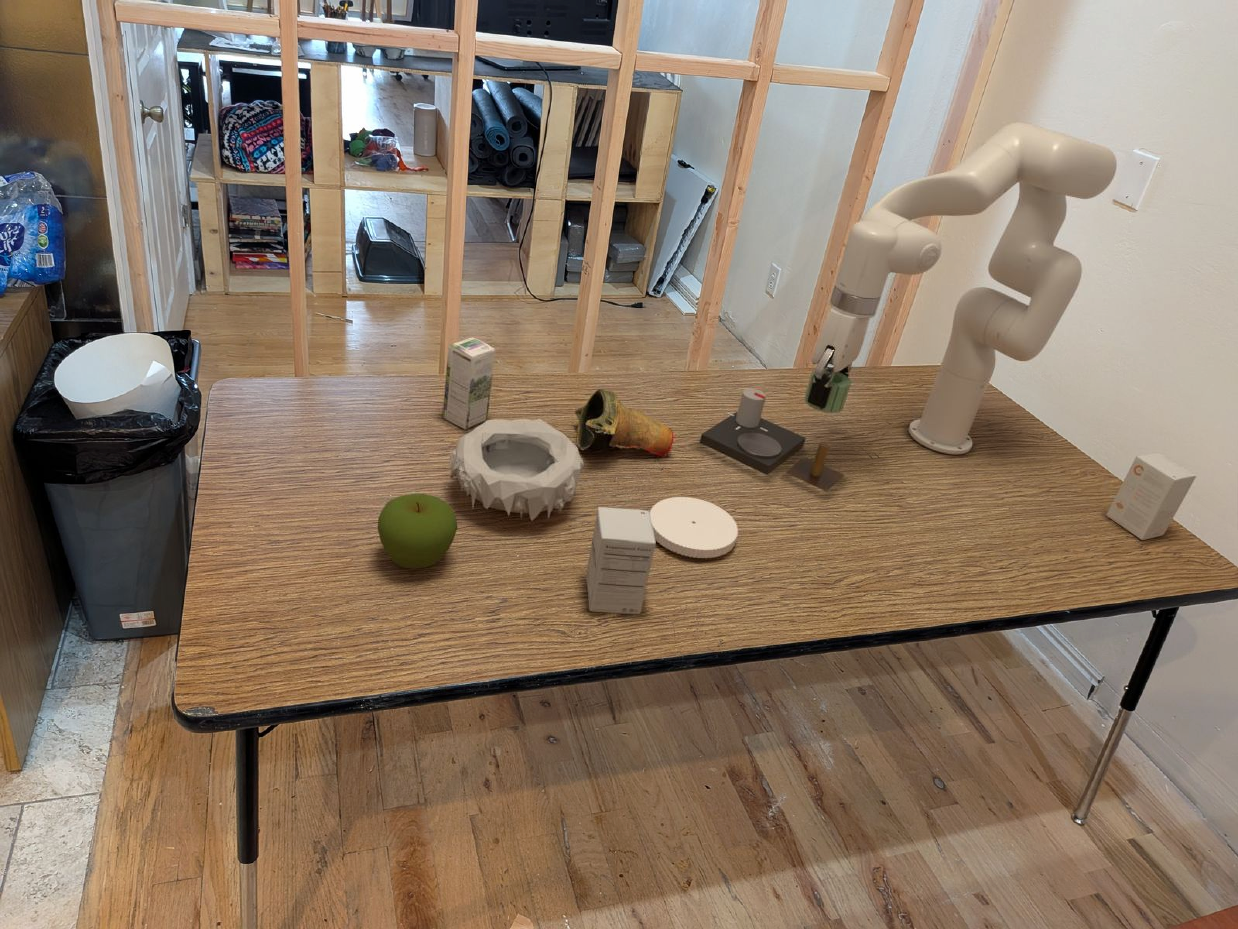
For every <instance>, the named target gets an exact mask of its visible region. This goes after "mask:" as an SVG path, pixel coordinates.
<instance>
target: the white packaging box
mask: <svg viewBox="0 0 1238 929" xmlns="http://www.w3.org/2000/svg"><path fill="white" fill-rule="evenodd" d="M656 542H657V540H655V537H654V532H653V526H652V523H651V518H650V510H646V509H645V510H644V509H632V508H621V507H620V508H619V507H605V506H598V507H597V512H596V517H595V523H594V529H593V535H592V540H591V545H590V550H589V557H588V562H587V568H586V574H585V581H586V587H587V589H586V590H587V599H588V600H587V601H588V611H589V612H595V613H607V614H609V613H611V614H623V615H640V614H641V613H642V609H643V608H642V607H643V604H644V603H643V602H644V600H645V594H646V588H647V584H648V581H649V576H650V571H651V567H652V562H653V559H654V553H655V549H656V545H657V544H656Z"/></svg>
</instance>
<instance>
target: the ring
mask: <svg viewBox="0 0 1238 929" xmlns="http://www.w3.org/2000/svg"><path fill="white" fill-rule="evenodd" d="M814 374H815V372H814V370H813V371H811V374H810V378H809V380H808V385H807V388H806V391H805V395H804V402H805V404H806V405H808V406H809V407H810V408H812V409H814V410H817V411H819V412H820V411H821V412H823V413H828V414H830V413H831V414H836V413H837V414H838V413H840V412H841V411H843V410H844V407H845V405H846V400H847V398H848V394H849V391H850V388H851V385H852V382H851V381H852V380H851V378H850V377H847V376H846V375H843V373H840V372H836V373H835V376H834V378H833V380H832V382H831V385H830V387H832V388H831V392H830V395H829V398H828V401H827V405H826V407H825V408H824V409H822V408H820V407H817V406H815V405H813V404H810V403H808V401H807V400H808V397H809V393H810V390H811V386H812V383H813V378H814ZM825 374H826V375H827V379H828V377H829V375H830V372H829V371H826V370H825Z"/></svg>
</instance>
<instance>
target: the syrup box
mask: <svg viewBox="0 0 1238 929" xmlns="http://www.w3.org/2000/svg"><path fill="white" fill-rule="evenodd" d="M495 354H496V349H495V348H494V347H492V346H490V345H489V344H488V343H486V342H484V341H482V340H480V339H479V338H476V337H469V338H466V339H463V340H459V341H457V342H454V343H451V344H449V345H448V346H447V358H446V371H445V383H444V386H445V387H444V396H443V397H444V398H443V407H442V418H443V419H444V420H445V421H447V422H450V423H452V424H453V425H455V426H457V427H459V428H461V429H462V430H466V431H467V430H470V429H471V428H473V427H475V426H476V427H477V426H479V425H481V424H483V423H484V422H486V421H487V420H489V409H490V400H491V393H492V384H493V383H492V382H493V373H494V364H495V356H496V355H495Z"/></svg>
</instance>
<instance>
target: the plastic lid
mask: <svg viewBox="0 0 1238 929" xmlns="http://www.w3.org/2000/svg"><path fill="white" fill-rule="evenodd" d="M649 512H650V518H651V523H652V526H653V532H654V537H655V541H656V542H657V543H659V545H661V546H662V547H664V548H665V549H667V550H669V551H671V552H673V553H676V554H680V555H681V556H684V557H689V558H697V559H700V558H701V559H711V558H718V557H722V556H724V555H725V554H727V553H729V552H730V551H732V549H733V548H734V547H735V545H736V543H737V539H738V536H739V527H738V524H737V522H736V520H735V519H734V518H733V517H732V515H731V514H729V512H727V511H726V510H724V508H721V507H720V506H718V505H716V504H714V503H712V502H710V501H707V500H704V499H700V498H696V497H692V496H691V497H688V496H672V497H668V498H663V499H661V500H659V501H657V502H656V503H655V504H653V506H652V507H651V508H650V510H649Z"/></svg>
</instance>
